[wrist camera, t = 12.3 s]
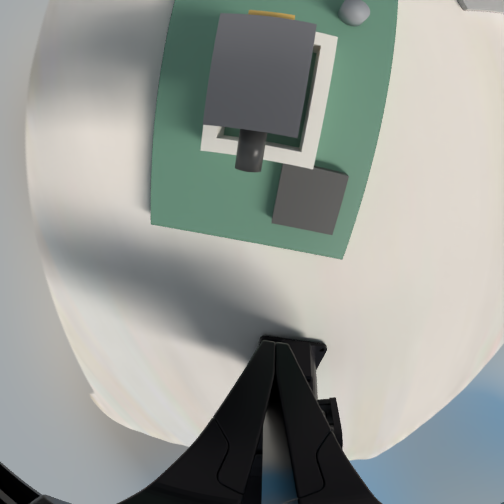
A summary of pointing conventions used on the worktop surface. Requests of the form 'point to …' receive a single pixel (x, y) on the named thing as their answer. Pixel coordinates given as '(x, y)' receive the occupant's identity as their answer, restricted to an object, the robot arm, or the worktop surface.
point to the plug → (259, 79)
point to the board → (277, 146)
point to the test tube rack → (483, 5)
